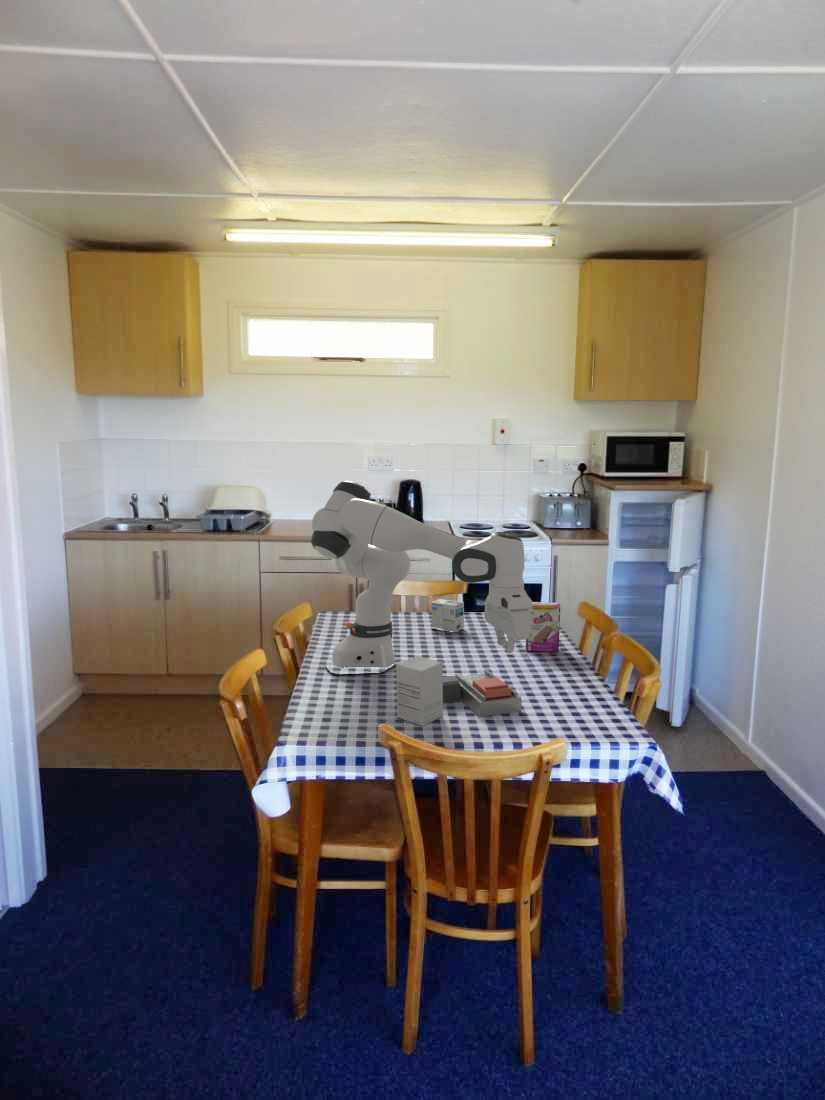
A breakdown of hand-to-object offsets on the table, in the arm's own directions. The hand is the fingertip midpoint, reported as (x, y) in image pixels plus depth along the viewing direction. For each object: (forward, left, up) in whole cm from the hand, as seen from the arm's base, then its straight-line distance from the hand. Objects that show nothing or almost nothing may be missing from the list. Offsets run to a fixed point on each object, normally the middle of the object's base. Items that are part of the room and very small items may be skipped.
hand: (505, 647), depth 196 cm
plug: (-9, +17, -19) cm, 28 cm away
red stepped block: (0, +8, -15) cm, 17 cm away
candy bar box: (+37, +49, -19) cm, 65 cm away
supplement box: (-21, +7, -19) cm, 30 cm away
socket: (0, +13, -19) cm, 23 cm away
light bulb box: (+16, +84, -19) cm, 88 cm away
